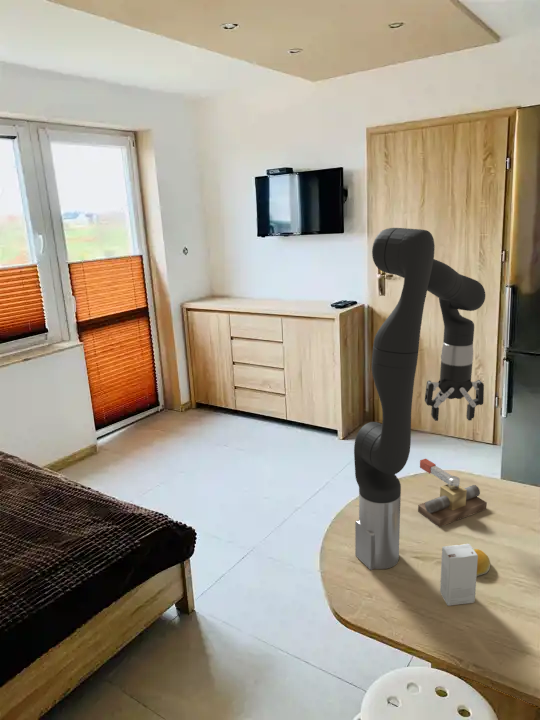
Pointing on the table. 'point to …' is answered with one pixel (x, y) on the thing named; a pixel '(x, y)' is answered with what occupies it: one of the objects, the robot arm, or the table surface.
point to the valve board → (453, 514)
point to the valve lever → (440, 473)
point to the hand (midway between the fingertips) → (452, 419)
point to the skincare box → (458, 574)
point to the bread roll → (482, 562)
